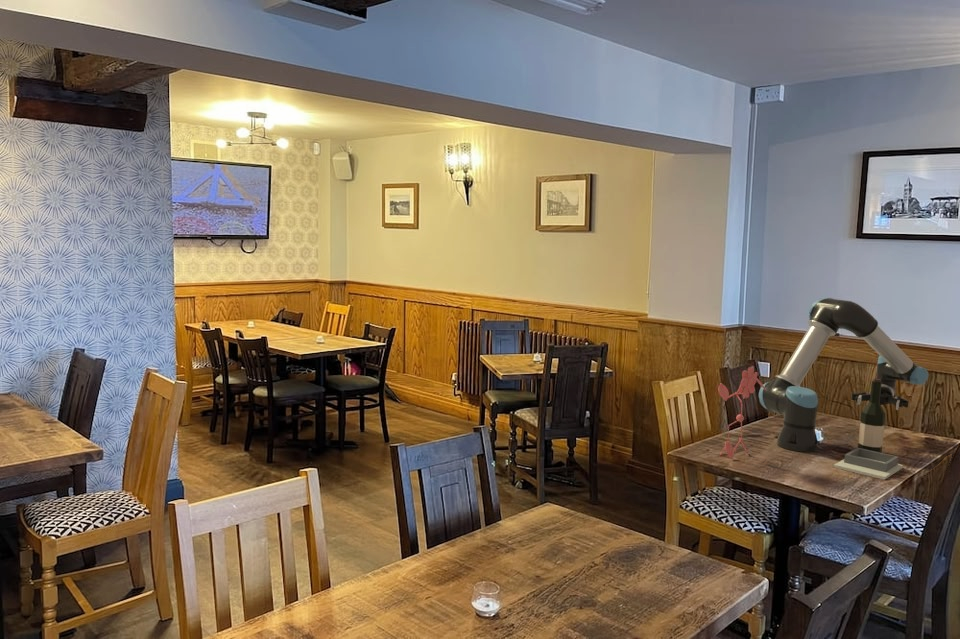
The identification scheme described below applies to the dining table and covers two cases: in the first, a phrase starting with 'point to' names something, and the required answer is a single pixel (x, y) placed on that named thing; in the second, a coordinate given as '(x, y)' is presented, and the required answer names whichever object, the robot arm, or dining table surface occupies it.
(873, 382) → the wine bottle
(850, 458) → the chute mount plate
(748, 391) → the pink wire flower sculpture
